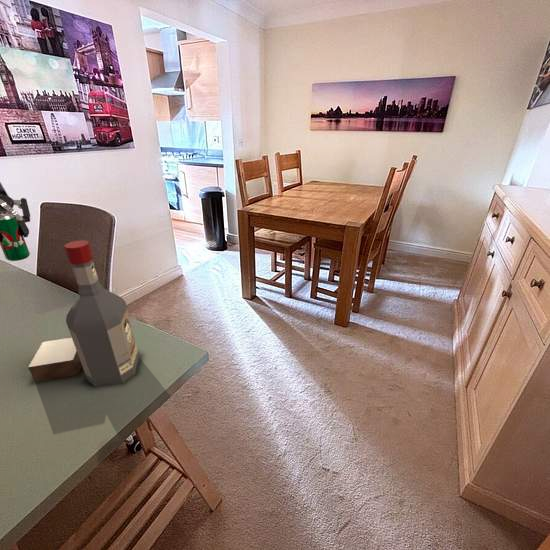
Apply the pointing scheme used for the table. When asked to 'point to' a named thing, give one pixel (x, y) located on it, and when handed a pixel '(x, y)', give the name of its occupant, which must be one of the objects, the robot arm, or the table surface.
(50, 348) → the stand
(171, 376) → the table surface
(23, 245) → the soda can
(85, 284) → the liquor
